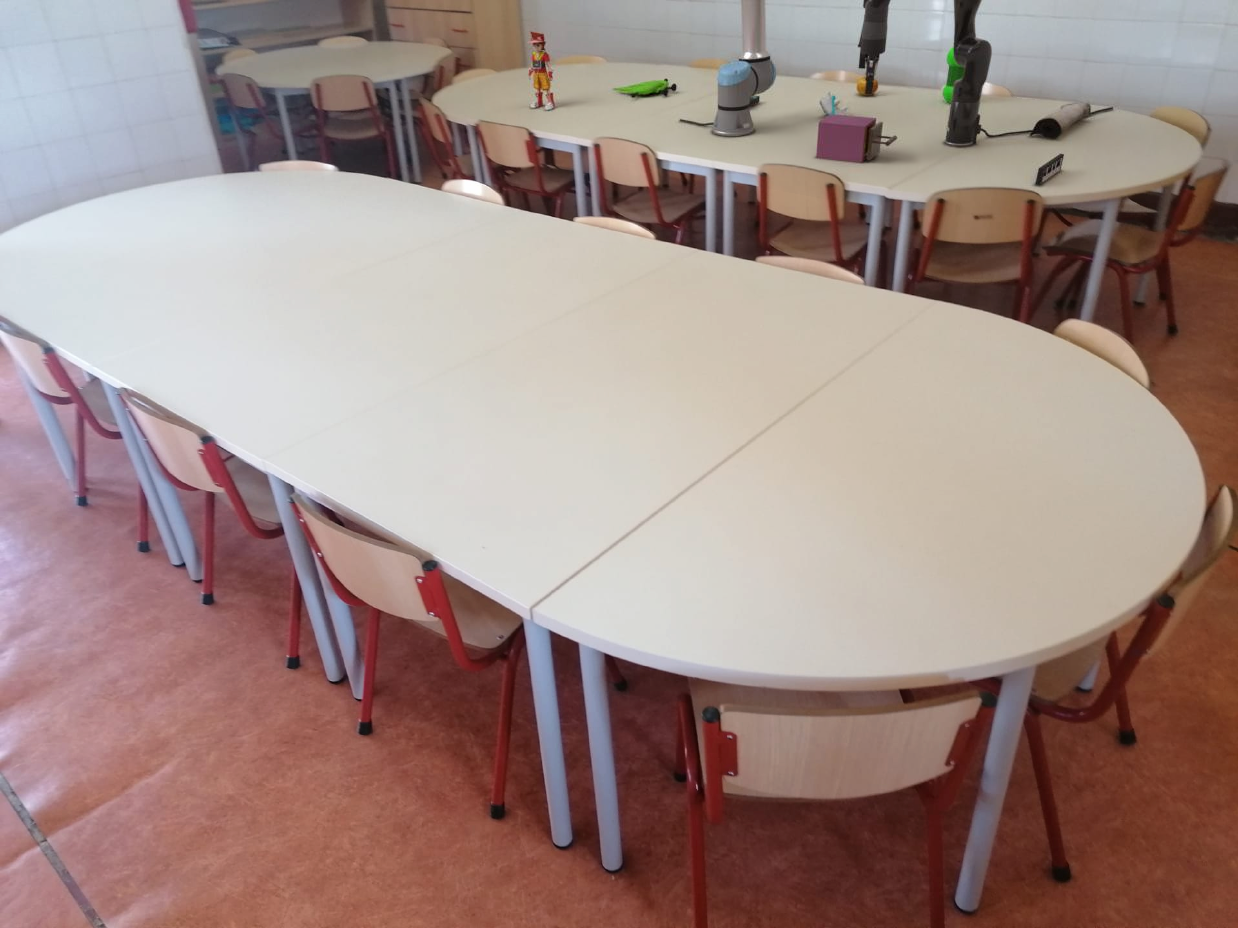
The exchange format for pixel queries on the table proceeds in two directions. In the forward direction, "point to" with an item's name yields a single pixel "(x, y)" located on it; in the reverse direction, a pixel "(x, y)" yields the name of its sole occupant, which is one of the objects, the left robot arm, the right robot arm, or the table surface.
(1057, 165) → the midi keyboard
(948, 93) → the green dumbbell
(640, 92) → the toy
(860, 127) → the cabinet
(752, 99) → the disk drive
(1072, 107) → the rolled mat
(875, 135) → the drawer
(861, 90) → the fruit
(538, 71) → the toy
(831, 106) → the anatomical model
